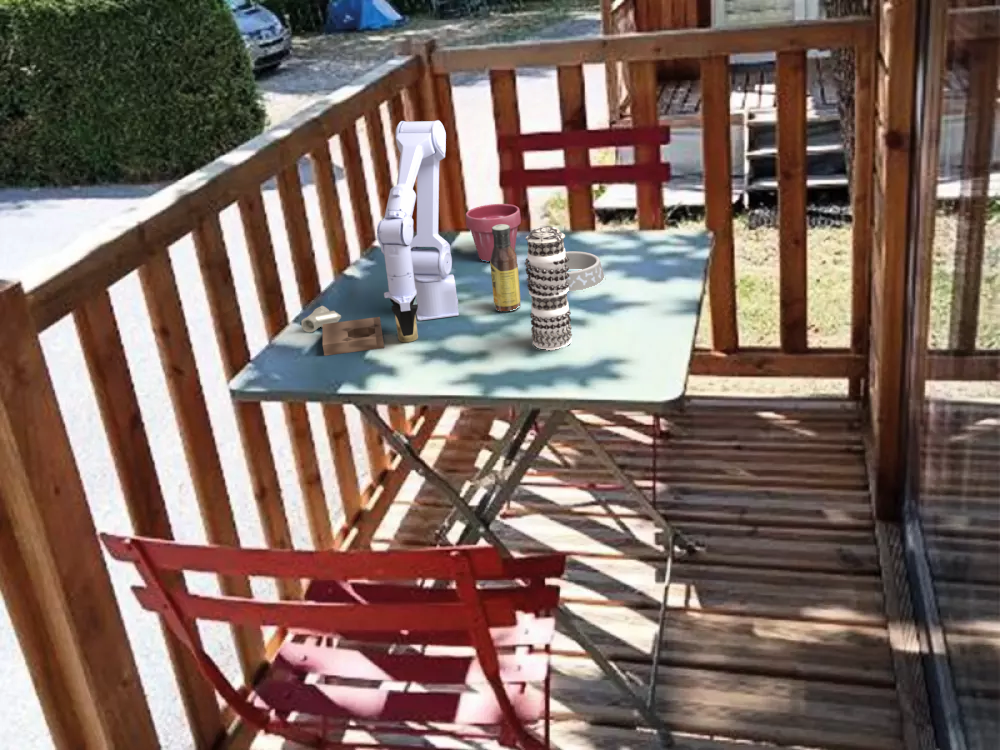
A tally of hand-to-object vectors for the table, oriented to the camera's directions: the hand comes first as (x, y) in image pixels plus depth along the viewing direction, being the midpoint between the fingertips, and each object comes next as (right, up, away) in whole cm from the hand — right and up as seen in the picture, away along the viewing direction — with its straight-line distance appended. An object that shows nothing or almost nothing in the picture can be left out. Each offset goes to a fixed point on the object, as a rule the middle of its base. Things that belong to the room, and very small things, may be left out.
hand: (407, 330), depth 250 cm
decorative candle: (+32, -3, -8) cm, 33 cm away
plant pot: (+20, +21, +49) cm, 57 cm away
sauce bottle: (+22, +5, +13) cm, 26 cm away
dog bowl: (+37, +13, +28) cm, 48 cm away
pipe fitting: (-20, +1, +12) cm, 24 cm away
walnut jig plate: (-12, -2, +2) cm, 13 cm away
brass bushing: (0, -2, +1) cm, 2 cm away
